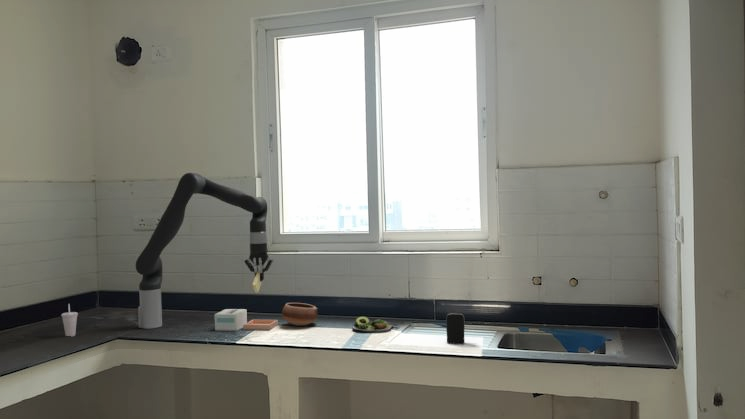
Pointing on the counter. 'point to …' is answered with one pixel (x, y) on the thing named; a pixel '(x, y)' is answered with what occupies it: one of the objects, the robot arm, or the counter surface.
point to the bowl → (299, 313)
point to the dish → (260, 325)
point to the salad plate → (371, 325)
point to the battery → (455, 328)
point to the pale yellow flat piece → (257, 282)
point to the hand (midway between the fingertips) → (259, 281)
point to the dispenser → (230, 319)
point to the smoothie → (69, 322)
